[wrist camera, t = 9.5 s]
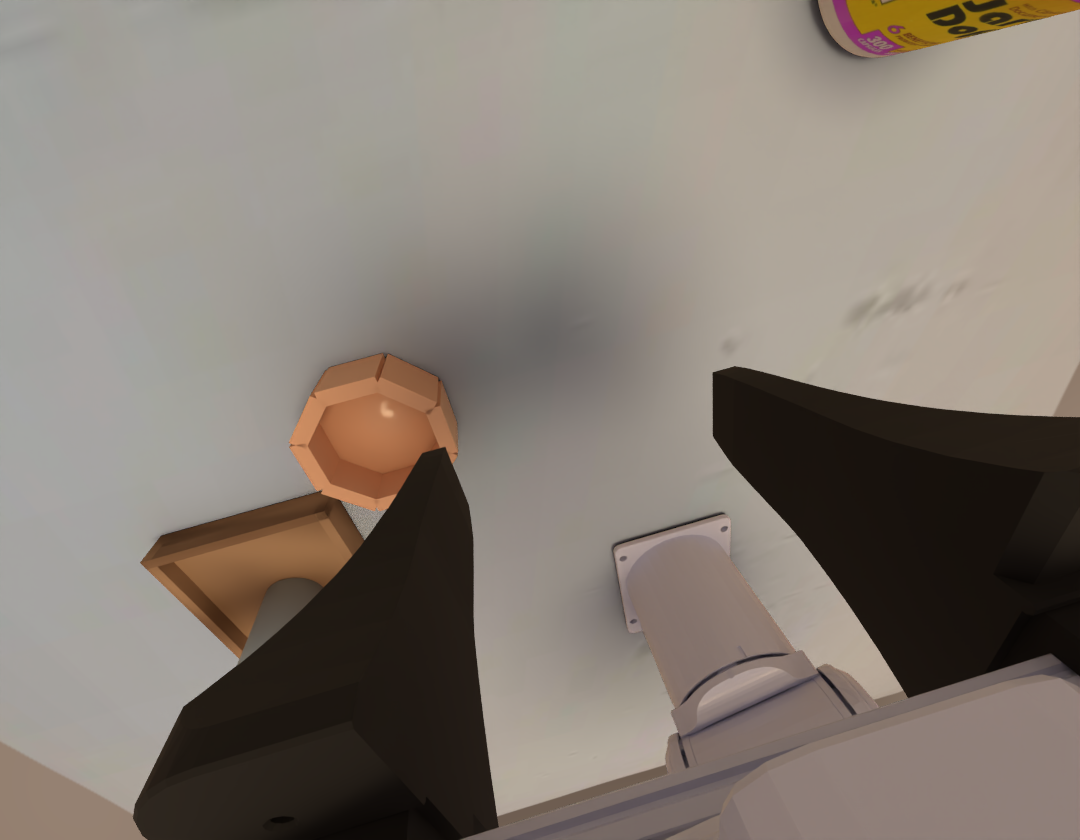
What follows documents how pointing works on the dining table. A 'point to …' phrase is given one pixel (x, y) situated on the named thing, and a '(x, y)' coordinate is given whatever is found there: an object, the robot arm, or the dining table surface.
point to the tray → (252, 560)
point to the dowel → (279, 610)
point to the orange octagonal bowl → (372, 429)
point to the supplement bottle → (925, 21)
